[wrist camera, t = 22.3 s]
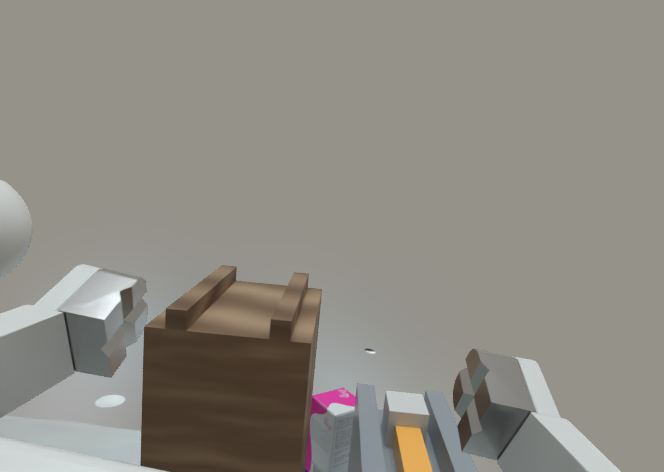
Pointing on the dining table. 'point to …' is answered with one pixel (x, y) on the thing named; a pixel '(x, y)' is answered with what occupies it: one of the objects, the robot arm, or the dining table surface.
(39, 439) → the dining table surface
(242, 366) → the walnut post
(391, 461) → the block
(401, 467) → the orange squared block
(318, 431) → the supplement box
